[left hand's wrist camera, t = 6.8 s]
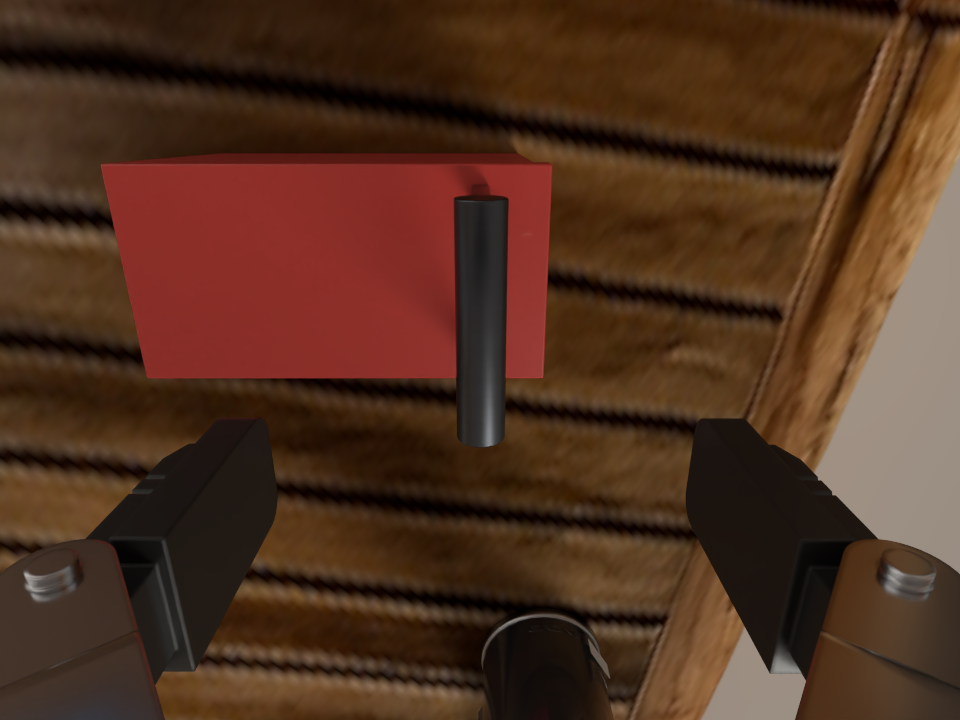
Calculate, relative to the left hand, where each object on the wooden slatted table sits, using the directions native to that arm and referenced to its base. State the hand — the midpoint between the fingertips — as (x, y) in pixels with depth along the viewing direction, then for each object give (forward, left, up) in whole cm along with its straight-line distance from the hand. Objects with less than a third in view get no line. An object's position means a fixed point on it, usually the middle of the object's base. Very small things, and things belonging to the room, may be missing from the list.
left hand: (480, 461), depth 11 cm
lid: (-1, +6, -16) cm, 17 cm away
